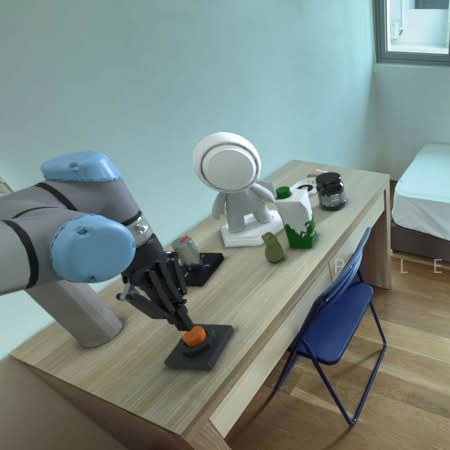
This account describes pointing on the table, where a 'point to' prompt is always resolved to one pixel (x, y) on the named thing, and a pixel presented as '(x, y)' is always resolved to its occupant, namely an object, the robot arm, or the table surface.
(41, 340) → the table surface
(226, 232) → the white cartoon figure
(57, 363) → the table surface
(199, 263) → the timer knob
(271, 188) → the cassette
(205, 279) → the timer panel
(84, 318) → the thermos bottle
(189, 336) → the power button
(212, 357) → the black button base
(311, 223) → the milk carton
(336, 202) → the supplement container
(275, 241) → the pear
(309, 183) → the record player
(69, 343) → the table surface
